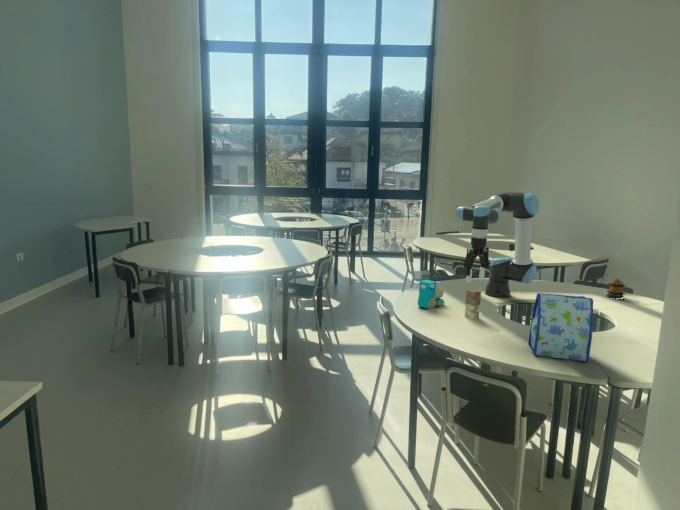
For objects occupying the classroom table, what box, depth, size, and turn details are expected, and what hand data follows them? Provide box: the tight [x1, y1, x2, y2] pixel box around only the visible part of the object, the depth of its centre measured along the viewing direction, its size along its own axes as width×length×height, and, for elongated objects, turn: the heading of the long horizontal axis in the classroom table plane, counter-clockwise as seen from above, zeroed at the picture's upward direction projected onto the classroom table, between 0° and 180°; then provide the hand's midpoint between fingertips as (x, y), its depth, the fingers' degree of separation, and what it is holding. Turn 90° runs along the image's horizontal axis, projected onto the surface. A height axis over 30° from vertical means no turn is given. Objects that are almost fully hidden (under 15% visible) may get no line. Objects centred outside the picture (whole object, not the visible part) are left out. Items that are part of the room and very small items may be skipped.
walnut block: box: [465, 288, 482, 306], centre depth 240 cm, size 5×5×7 cm
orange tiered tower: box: [606, 277, 627, 299], centre depth 294 cm, size 13×10×12 cm
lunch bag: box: [528, 292, 594, 363], centre depth 199 cm, size 22×17×26 cm
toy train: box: [417, 279, 445, 310], centre depth 262 cm, size 8×17×15 cm, turn 134°
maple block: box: [464, 303, 481, 320], centre depth 242 cm, size 5×5×7 cm
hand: (475, 280), depth 239 cm, fingers open, 9 cm apart
